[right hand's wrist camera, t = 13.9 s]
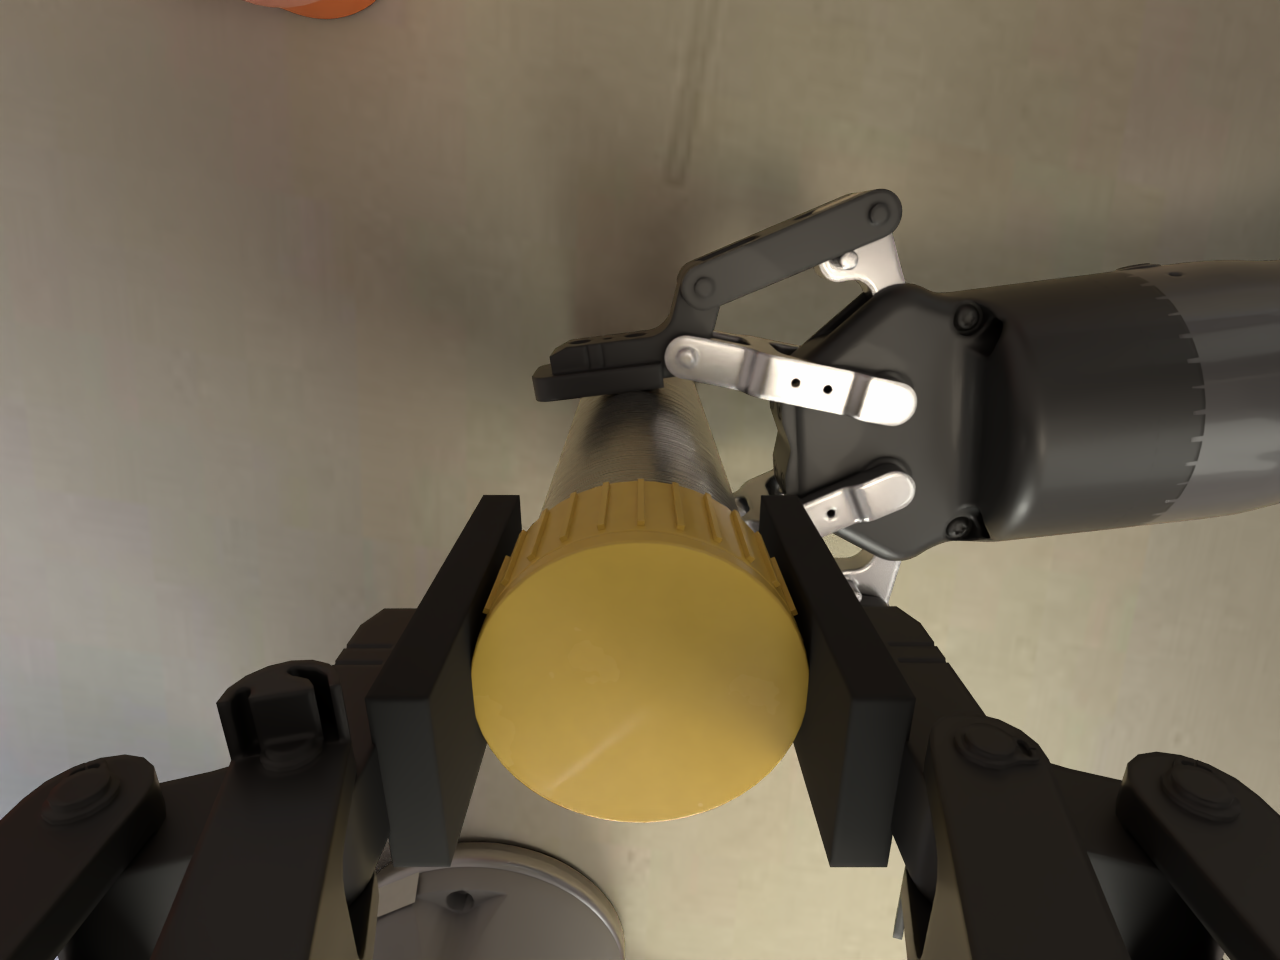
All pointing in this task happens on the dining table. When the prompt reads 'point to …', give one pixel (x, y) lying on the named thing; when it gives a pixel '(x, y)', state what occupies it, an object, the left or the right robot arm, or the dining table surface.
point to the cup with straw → (317, 7)
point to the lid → (639, 655)
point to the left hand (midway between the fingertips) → (554, 466)
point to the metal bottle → (641, 444)
